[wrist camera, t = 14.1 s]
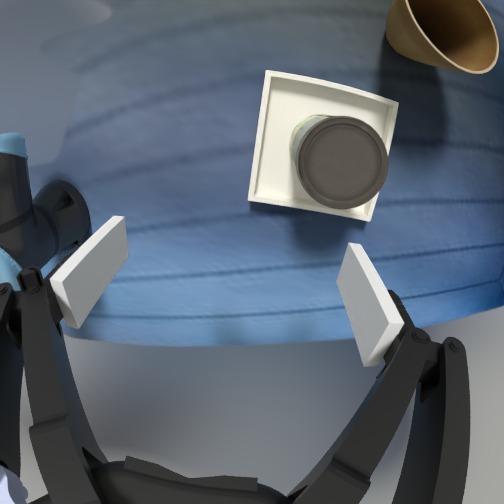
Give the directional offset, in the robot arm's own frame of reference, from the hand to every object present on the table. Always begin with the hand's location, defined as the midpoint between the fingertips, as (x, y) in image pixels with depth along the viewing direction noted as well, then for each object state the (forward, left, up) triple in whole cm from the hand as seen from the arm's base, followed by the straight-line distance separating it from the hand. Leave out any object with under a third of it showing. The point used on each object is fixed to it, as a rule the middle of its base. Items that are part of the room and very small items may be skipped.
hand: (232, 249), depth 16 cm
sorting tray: (+9, +4, -30) cm, 31 cm away
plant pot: (+20, +27, -30) cm, 45 cm away
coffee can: (+9, +4, -29) cm, 31 cm away
